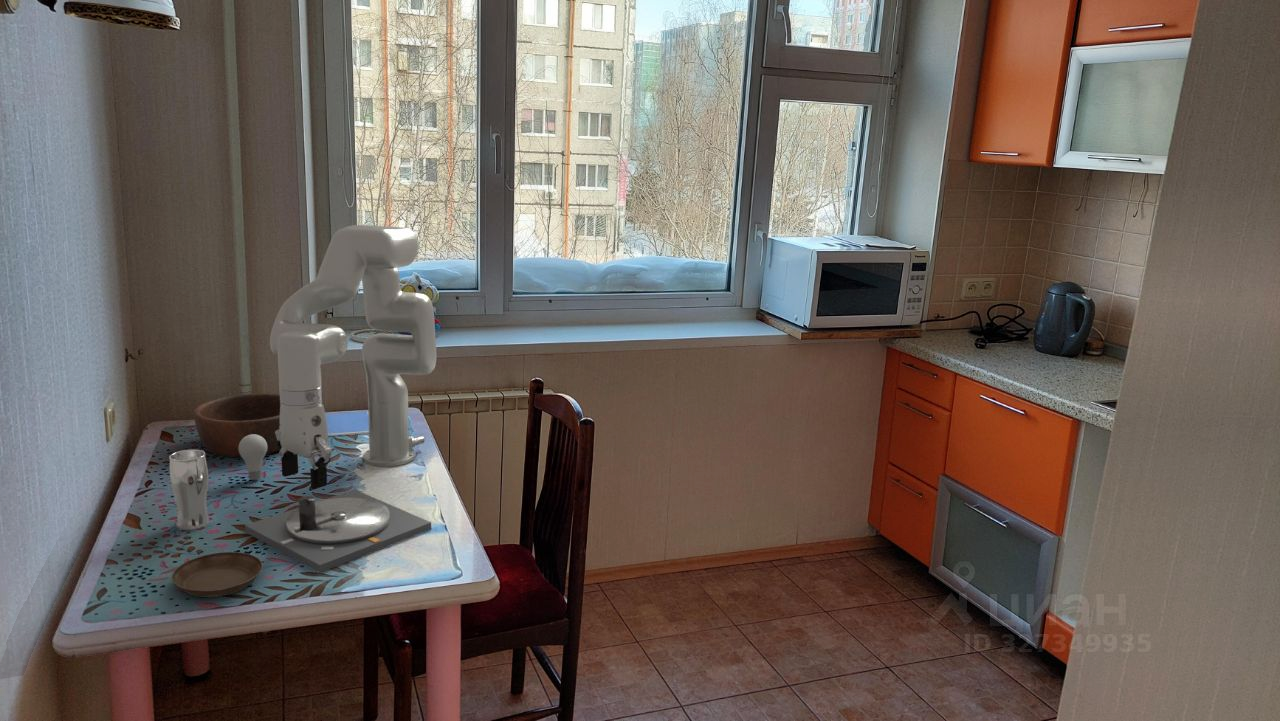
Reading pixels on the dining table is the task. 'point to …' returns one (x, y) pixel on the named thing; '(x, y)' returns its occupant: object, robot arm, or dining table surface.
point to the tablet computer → (347, 423)
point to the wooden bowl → (238, 422)
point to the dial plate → (338, 553)
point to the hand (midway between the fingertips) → (304, 480)
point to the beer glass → (190, 488)
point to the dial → (336, 520)
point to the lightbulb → (253, 454)
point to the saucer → (217, 573)
